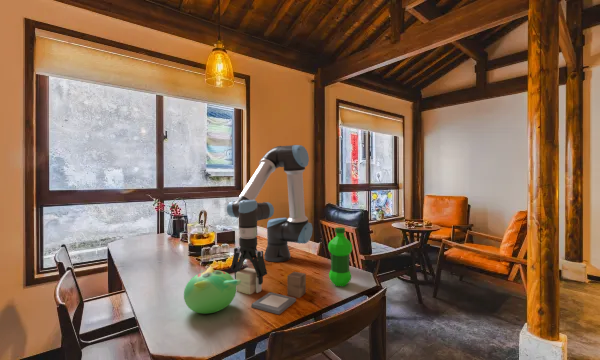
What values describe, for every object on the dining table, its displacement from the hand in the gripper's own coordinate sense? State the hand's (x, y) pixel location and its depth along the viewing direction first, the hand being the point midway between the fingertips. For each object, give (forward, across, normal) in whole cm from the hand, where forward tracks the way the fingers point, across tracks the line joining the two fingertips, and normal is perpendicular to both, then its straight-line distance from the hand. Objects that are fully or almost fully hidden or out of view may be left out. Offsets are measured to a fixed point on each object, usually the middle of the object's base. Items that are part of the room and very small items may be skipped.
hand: (248, 289), depth 121 cm
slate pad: (0, +17, -6) cm, 18 cm away
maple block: (0, 0, 0) cm, 0 cm away
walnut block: (0, +20, +6) cm, 21 cm away
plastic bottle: (0, +32, +24) cm, 40 cm away
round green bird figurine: (+1, 0, -21) cm, 21 cm away
